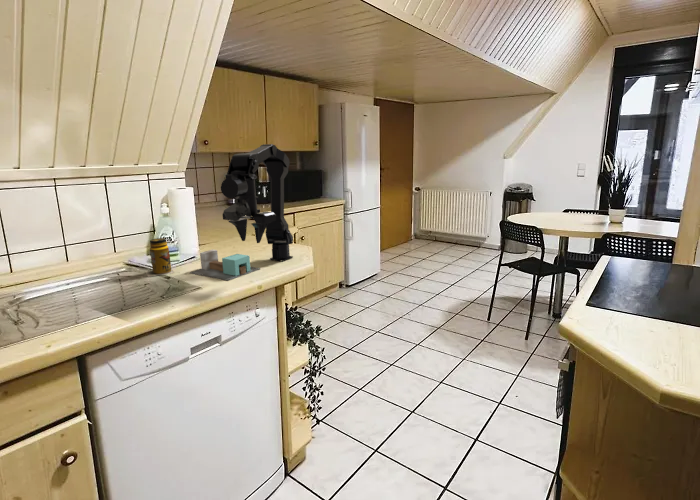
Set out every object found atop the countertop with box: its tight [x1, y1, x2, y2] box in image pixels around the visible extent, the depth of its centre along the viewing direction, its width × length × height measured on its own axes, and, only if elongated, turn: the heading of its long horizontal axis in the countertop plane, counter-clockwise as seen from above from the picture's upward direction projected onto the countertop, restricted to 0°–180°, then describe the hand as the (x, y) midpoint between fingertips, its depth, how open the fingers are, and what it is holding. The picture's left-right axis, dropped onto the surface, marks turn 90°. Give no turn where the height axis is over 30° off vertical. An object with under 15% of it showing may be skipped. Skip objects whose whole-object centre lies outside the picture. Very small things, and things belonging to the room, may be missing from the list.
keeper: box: [221, 253, 251, 276], centre depth 139 cm, size 7×6×5 cm
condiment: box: [144, 237, 175, 278], centre depth 141 cm, size 7×8×12 cm
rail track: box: [189, 249, 261, 282], centre depth 142 cm, size 15×19×6 cm
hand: (250, 241), depth 132 cm, fingers open, 6 cm apart
